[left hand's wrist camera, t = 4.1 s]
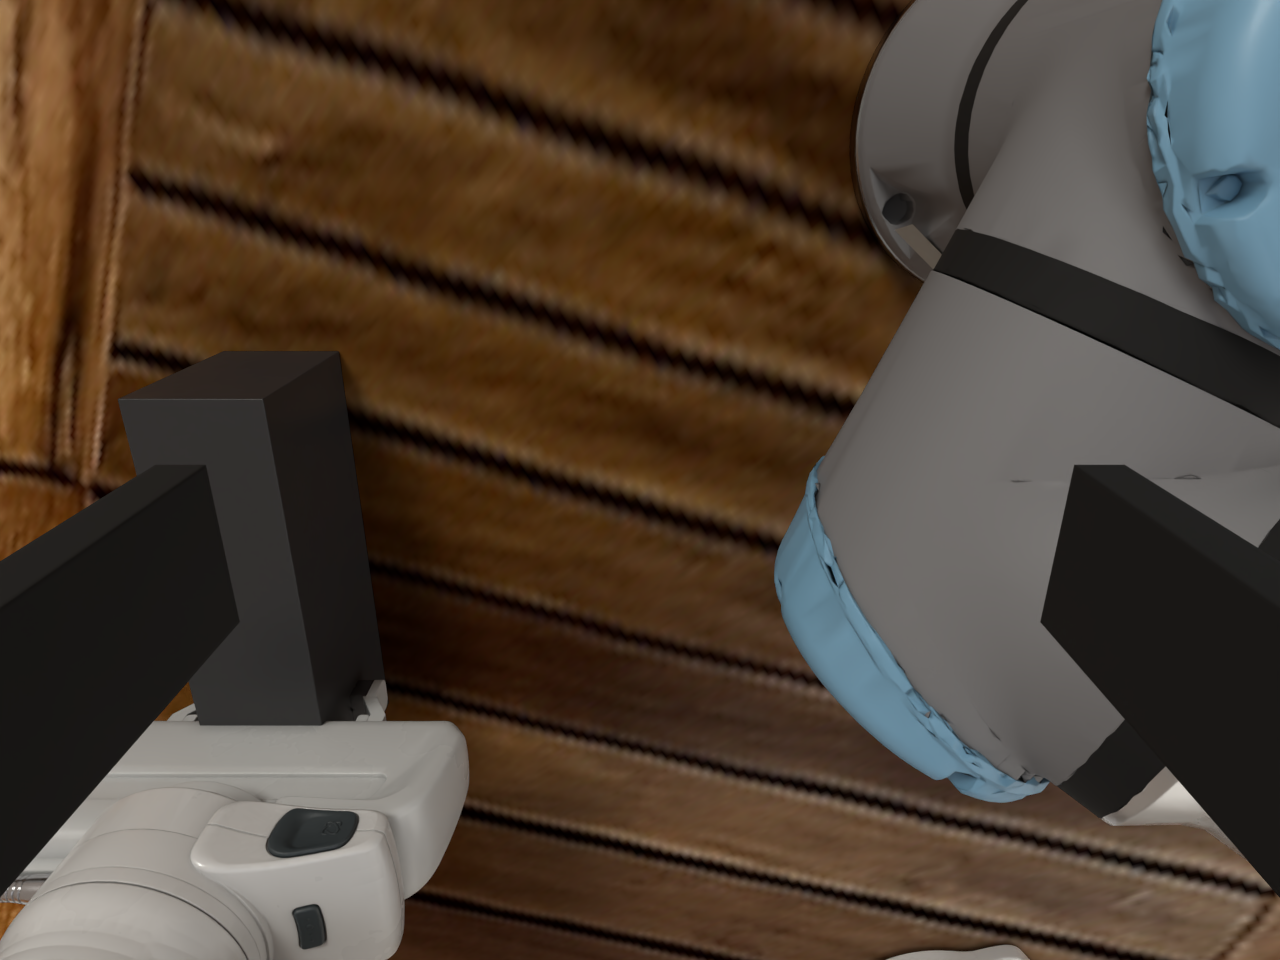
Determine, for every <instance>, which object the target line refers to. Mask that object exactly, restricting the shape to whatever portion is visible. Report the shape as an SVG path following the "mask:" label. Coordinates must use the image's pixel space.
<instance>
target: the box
mask: <svg viewBox="0 0 1280 960" xmlns="http://www.w3.org/2000/svg"><path fill="white" fill-rule="evenodd" d="M118 402H119V406H120V410H121V414H122V418H123V422H124V426H125V430H126V434H127V438H128V442H129V446H130V450H131V454H132V458H133V462H134V466H135V470H136V474H137V476H138V475H140V474H141V473H143V472H144V471H146V470H148V469H149V468H151V467H152V466H154V465H206V468H207V472H208V477H209V482H210V486H211V491H212V495H213V500H214V505H215V509H216V514H217V519H218V523H219V528H220V533H221V537H222V542H223V546H224V551H225V556H226V560H227V565H228V570H229V574H230V579H231V584H232V588H233V593H234V597H235V602H236V607H237V611H238V616H239V621H240V622H239V624H238V625H237V626H236V627H235V628H234V629H233V630H232V632H231V633H230V634H229V635H228V636H227V637H226V639H225V640H224V641H223V642H222V643H221V644H220V645H219V647H218V648H217V649H216V650H215V651H214V652H213V653H212V655H211V656H210V657H209V658H208V659H207V660H206V662H205V663H204V664H203V665H202V666H201V667H200V668H199V670H198V671H197V672H196V673H195V674H194V675H193V676H192V678H191V679H190V680H189V685H190V689H191V693H192V697H193V701H194V705H195V709H196V713H197V717H198V721H199V725H200V726H322V725H323V724H324V723H325V721H353V716H352V711H353V709H352V708H351V704H350V698H349V696H350V694H351V692H352V690H353V688H354V687H356V683H357V681H358V680H385V674H384V667H383V660H382V653H381V646H380V639H379V632H378V625H377V618H376V611H375V604H374V597H373V590H372V583H371V575H370V568H369V561H368V554H367V547H366V540H365V533H364V526H363V519H362V512H361V505H360V498H359V491H358V484H357V476H356V469H355V462H354V455H353V448H352V441H351V434H350V427H349V420H348V413H347V406H346V399H345V392H344V385H343V378H342V370H341V363H340V356H339V352H338V351H223V352H221V353H219V354H216V355H214V356H212V357H210V358H208V359H205V360H203V361H201V362H199V363H197V364H194V365H192V366H190V367H188V368H186V369H183V370H181V371H179V372H177V373H175V374H172V375H170V376H168V377H166V378H163V379H161V380H159V381H157V382H155V383H152V384H150V385H148V386H146V387H144V388H141V389H139V390H137V391H135V392H133V393H130V394H128V395H126V396H124V397H122V398H119V399H118ZM387 705H388V700H387ZM386 708H387V707H386ZM385 710H386V709H385ZM384 712H385V711H384Z"/></svg>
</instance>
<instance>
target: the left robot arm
mask: <svg viewBox="0 0 1280 960" xmlns="http://www.w3.org/2000/svg"><path fill="white" fill-rule="evenodd" d="M850 166H851V175H852V181H853V187H854V191H855V194H856V198H857V201H858V205H859V207H860V210H861V212H862V215H863V217H864V219H865V221H866V223H867V225H868V227H869V229H870V231H871V233H872V234H873V236H874V237H875V239H876V240H877V242H878V243H879V245H880V246H881V247H882V248H883V249H884V251H885V252H886V253H887V254H888V255H889V256H890V257H891V258H892V259H893V260H894V261H895V262H896V263H897V264H898V265H899V266H900V267H902V268H903V269H904V270H905V271H907V272H908V273H909V274H911V275H912V276H914V277H916V278H917V279H919V280H921V281H922V282H924V284H923V286H922V287H921V289H920V291H919V293H918V295H917V296H916V298H915V300H914V302H913V303H912V305H911V307H910V309H909V311H908V312H907V314H906V316H905V318H904V319H903V321H902V323H901V325H900V327H899V328H898V330H897V332H896V334H895V335H894V337H893V339H892V341H891V343H890V344H889V346H888V348H887V350H886V351H885V353H884V355H883V357H882V359H881V360H880V362H879V364H878V366H877V368H876V369H875V371H874V373H873V375H872V376H871V378H870V380H869V382H868V384H867V385H866V387H865V389H864V391H863V392H862V394H861V396H860V398H859V399H858V401H857V403H856V404H855V406H854V408H853V409H852V411H851V413H850V415H849V416H848V418H847V420H846V421H845V423H844V425H843V426H842V428H841V430H840V432H839V433H838V435H837V437H836V438H835V440H834V442H833V443H832V445H831V447H830V448H829V450H828V452H827V454H826V455H825V456H823V457H821V459H820V460H819V461H818V462H817V463H816V465H815V466H814V467H813V470H812V471H811V472H810V474H809V477H808V481H807V486H806V492H805V496H804V498H803V500H802V502H801V504H800V506H799V508H798V510H797V512H796V514H795V516H794V518H793V520H792V522H791V524H790V526H789V528H788V530H787V532H786V534H785V536H784V538H783V540H782V542H781V545H780V547H779V549H778V553H777V557H776V561H775V571H774V580H775V586H776V591H777V596H778V599H779V601H780V603H781V612H782V617H783V619H784V622H785V624H786V626H787V628H788V630H789V632H790V635H791V637H792V639H793V641H794V642H795V644H796V646H797V648H798V649H799V651H800V653H801V654H802V656H803V657H804V659H805V660H806V662H807V663H808V665H809V666H810V668H811V669H812V671H813V672H814V673H815V675H816V676H817V677H818V679H819V680H820V681H821V683H822V684H823V685H824V686H825V687H826V688H827V690H828V691H829V692H830V693H831V694H832V695H833V697H834V698H835V699H836V700H837V701H838V702H839V703H840V704H841V705H842V706H843V708H844V709H845V710H846V711H847V712H848V713H849V714H850V715H851V716H852V717H853V718H854V719H855V720H856V721H857V722H858V723H859V724H860V725H861V726H862V727H863V728H864V729H866V730H867V731H868V732H869V733H870V734H871V735H872V736H874V737H875V738H876V739H877V740H878V741H879V742H880V743H882V744H883V745H884V746H885V747H886V748H888V749H889V750H890V751H891V752H893V753H894V754H895V755H897V756H898V757H899V758H901V759H902V760H904V761H905V762H907V763H908V764H910V765H911V766H913V767H914V768H916V769H917V770H919V771H921V772H922V773H924V774H926V775H927V776H929V777H930V778H932V779H935V780H941V779H944V778H946V777H947V778H948V779H949V780H950V781H951V782H952V784H953V785H954V786H955V787H956V788H957V789H958V790H959V791H960V792H961V793H963V794H965V795H968V796H971V797H974V798H977V799H981V800H985V801H989V802H999V803H1002V802H1011V801H1015V800H1019V799H1022V798H1024V797H1025V796H1027V795H1032V794H1036V793H1040V792H1041V791H1043V790H1044V789H1045V787H1046V786H1047V785H1048V783H1049V782H1052V783H1053V784H1054V785H1056V786H1058V787H1059V788H1060V789H1062V790H1063V791H1064V792H1066V793H1067V794H1068V795H1070V796H1071V797H1072V798H1074V799H1075V800H1076V801H1078V802H1079V803H1080V804H1082V805H1083V806H1084V807H1086V808H1087V809H1088V810H1090V811H1091V812H1092V813H1094V814H1095V815H1096V816H1097V817H1099V818H1100V819H1102V820H1103V821H1104V822H1106V823H1107V824H1108V825H1110V826H1126V825H1184V826H1189V827H1194V828H1199V829H1204V830H1205V831H1206V832H1208V833H1209V834H1211V835H1212V836H1213V837H1215V838H1216V839H1218V840H1219V841H1220V842H1222V843H1223V844H1225V845H1226V846H1227V847H1229V848H1230V849H1232V850H1233V851H1234V852H1236V853H1237V854H1239V855H1240V856H1241V857H1243V858H1244V859H1246V860H1247V861H1248V862H1249V863H1250V864H1251V865H1252V866H1253V867H1254V868H1255V870H1256V871H1257V872H1258V873H1259V874H1260V875H1261V876H1262V878H1263V879H1264V880H1265V881H1266V882H1267V883H1268V884H1269V886H1270V887H1271V888H1272V889H1273V890H1274V891H1275V893H1276V894H1277V895H1278V896H1279V897H1280V0H912V1H911V2H910V3H909V4H908V5H907V6H906V7H905V8H904V10H903V11H902V12H901V13H900V14H899V16H898V17H897V18H896V19H895V21H894V22H893V23H892V25H891V26H890V28H889V29H888V30H887V32H886V33H885V35H884V36H883V38H882V40H881V41H880V43H879V45H878V47H877V48H876V50H875V52H874V54H873V56H872V58H871V60H870V62H869V64H868V66H867V69H866V71H865V74H864V77H863V79H862V82H861V84H860V88H859V91H858V95H857V98H856V102H855V106H854V111H853V116H852V122H851V132H850ZM239 622H240V621H239V616H238V611H237V607H236V602H235V597H234V593H233V588H232V584H231V579H230V574H229V570H228V565H227V560H226V556H225V551H224V546H223V542H222V537H221V533H220V528H219V523H218V519H217V514H216V509H215V505H214V500H213V495H212V491H211V486H210V482H209V477H208V472H207V468H206V465H154V466H152V467H151V468H149V469H148V470H146V471H144V472H143V473H141V474H140V475H138V476H136V477H135V478H133V479H132V480H130V481H128V482H127V483H125V484H124V485H122V486H120V487H119V488H117V489H116V490H114V491H112V492H111V493H109V494H108V495H106V496H104V497H103V498H101V499H99V500H98V501H96V502H95V503H93V504H91V505H90V506H88V507H87V508H85V509H83V510H82V511H80V512H79V513H77V514H75V515H74V516H72V517H71V518H69V519H67V520H66V521H64V522H63V523H61V524H59V525H58V526H56V527H55V528H53V529H51V530H50V531H48V532H47V533H45V534H43V535H42V536H40V537H39V538H37V539H35V540H34V541H32V542H31V543H29V544H27V545H26V546H24V547H23V548H21V549H19V550H18V551H16V552H15V553H13V554H11V555H10V556H8V557H7V558H5V559H3V560H2V561H0V897H1V896H2V895H3V894H4V893H5V891H6V890H7V889H8V888H9V887H10V886H11V884H12V883H13V882H14V881H15V880H16V879H17V878H18V876H19V875H20V874H21V873H22V872H23V871H24V870H25V868H26V867H27V866H28V865H29V864H30V863H31V861H32V860H33V859H34V858H35V857H36V856H37V855H38V853H39V852H40V851H41V850H42V849H43V848H44V847H45V845H46V844H47V843H48V842H49V841H50V840H51V839H52V837H53V836H54V835H55V834H56V833H57V832H58V830H59V829H60V828H61V827H62V826H63V825H64V824H65V822H66V821H67V820H68V819H69V818H70V817H71V816H72V814H73V813H74V812H75V811H76V810H77V809H78V807H79V806H80V805H81V804H82V803H83V802H84V801H85V799H86V798H87V797H88V796H89V795H90V794H91V793H92V791H93V790H94V789H95V788H96V787H97V786H98V784H99V783H100V782H101V781H102V780H103V779H104V778H105V776H106V775H107V774H108V773H109V772H110V771H111V770H112V768H113V767H114V766H115V765H116V764H117V763H118V762H119V760H120V759H121V758H122V757H123V756H124V755H125V753H126V752H127V751H128V750H129V749H130V748H131V747H132V745H133V744H134V743H135V742H136V741H137V740H138V739H139V737H140V736H141V735H142V734H143V733H144V732H145V730H146V729H147V728H148V727H149V726H150V725H151V724H152V722H153V721H154V720H155V719H156V718H157V717H158V716H159V714H160V713H161V712H162V711H163V710H164V709H165V707H166V706H167V705H168V704H169V703H170V702H171V701H172V699H173V698H174V697H175V696H176V695H177V694H178V693H179V691H180V690H181V689H182V688H183V687H184V686H185V685H186V683H187V682H188V681H189V680H190V679H191V678H192V676H193V675H194V674H195V673H196V672H197V671H198V670H199V668H200V667H201V666H202V665H203V664H204V663H205V662H206V660H207V659H208V658H209V657H210V656H211V655H212V653H213V652H214V651H215V650H216V649H217V648H218V647H219V645H220V644H221V643H222V642H223V641H224V640H225V639H226V637H227V636H228V635H229V634H230V633H231V632H232V630H233V629H234V628H235V627H236V626H237V625H238V624H239Z"/></svg>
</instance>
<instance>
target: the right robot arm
mask: <svg viewBox="0 0 1280 960" xmlns="http://www.w3.org/2000/svg"><path fill="white" fill-rule="evenodd" d="M349 698H350V704H351V708H352V709H353V711H352V716H353V721H325V723H324V724H323V725H322V726H200V725H199V721H198V717H197V713H196V709H195V705H194V704H192V705H190V706H188V707H186V708H184V709H182V710H180V711H178V712H176V713H174V714H172V715H171V717H170V718H169V719H168V720H167V721H153V722H152V724H151V725H150V726H149V727H148V728H147V729H146V730H145V732H144V733H143V734H142V735H141V736H140V737H139V739H138V740H137V741H136V742H135V743H134V744H133V745H132V747H131V748H130V749H129V750H128V751H127V752H126V753H125V755H124V756H123V757H122V758H121V759H120V760H119V762H118V763H117V764H116V765H115V766H114V767H113V768H112V770H111V771H110V772H109V773H108V774H107V775H106V776H105V778H104V779H103V780H102V781H101V782H100V783H99V784H98V786H97V787H96V788H95V789H94V790H93V791H92V793H91V794H90V795H89V796H88V797H87V798H86V799H85V801H84V802H83V803H82V804H81V805H80V806H79V807H78V809H77V810H76V811H75V812H74V813H73V814H72V816H71V817H70V818H69V819H68V820H67V821H66V822H65V824H64V825H63V826H62V827H61V828H60V829H59V830H58V832H57V833H56V834H55V835H54V836H53V837H52V839H51V840H50V841H49V842H48V843H47V844H46V845H45V847H44V848H43V849H42V850H41V851H40V852H39V853H38V855H37V856H36V857H35V858H34V859H33V860H32V861H31V863H30V864H29V865H28V866H27V867H26V868H25V870H24V871H23V872H22V873H21V874H20V875H19V876H18V878H17V879H16V880H15V881H14V882H13V883H12V884H11V886H10V887H9V888H8V889H7V890H6V891H5V893H4V894H3V895H2V896H1V897H0V902H11V903H19V904H26V906H25V907H24V908H23V909H22V910H21V911H20V913H19V914H18V915H17V916H16V917H15V919H14V920H13V921H12V923H11V924H10V926H9V927H8V929H7V930H6V932H5V934H4V935H3V937H2V939H1V941H0V960H387V959H388V958H390V957H391V956H392V955H393V954H394V953H395V952H396V950H397V949H398V947H399V945H400V942H401V939H402V935H403V930H404V910H405V905H404V899H406V898H408V897H410V896H412V895H413V894H415V893H416V892H417V891H419V890H420V889H421V888H422V887H423V886H424V885H425V884H426V883H427V882H428V881H429V879H430V878H431V877H432V875H433V874H434V872H435V871H436V869H437V867H438V866H439V864H440V862H441V860H442V857H443V855H444V853H445V851H446V849H447V847H448V844H449V842H450V840H451V837H452V835H453V833H454V830H455V828H456V825H457V822H458V820H459V817H460V814H461V811H462V808H463V805H464V802H465V799H466V795H467V791H468V786H469V760H468V751H467V745H466V740H465V737H464V735H463V734H462V732H461V731H460V730H459V728H458V727H457V726H456V725H455V724H454V723H452V722H449V721H386V715H385V712H384V711H385V709H386V707H387V700H388V696H387V689H386V682H385V680H358V681H357V683H356V687H354V688H353V690H352V692H351V694H350V696H349ZM886 960H1030V959H1029V958H1028V957H1027V956H1026V955H1025V954H1024V953H1023V952H1022V951H1021V950H1020V949H1019V948H1018V947H1016V946H1013V945H999V946H993V947H988V948H984V949H979V950H975V951H945V950H931V951H919V952H912V953H907V954H903V955H899V956H895V957H892V958H889V959H886Z"/></svg>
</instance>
